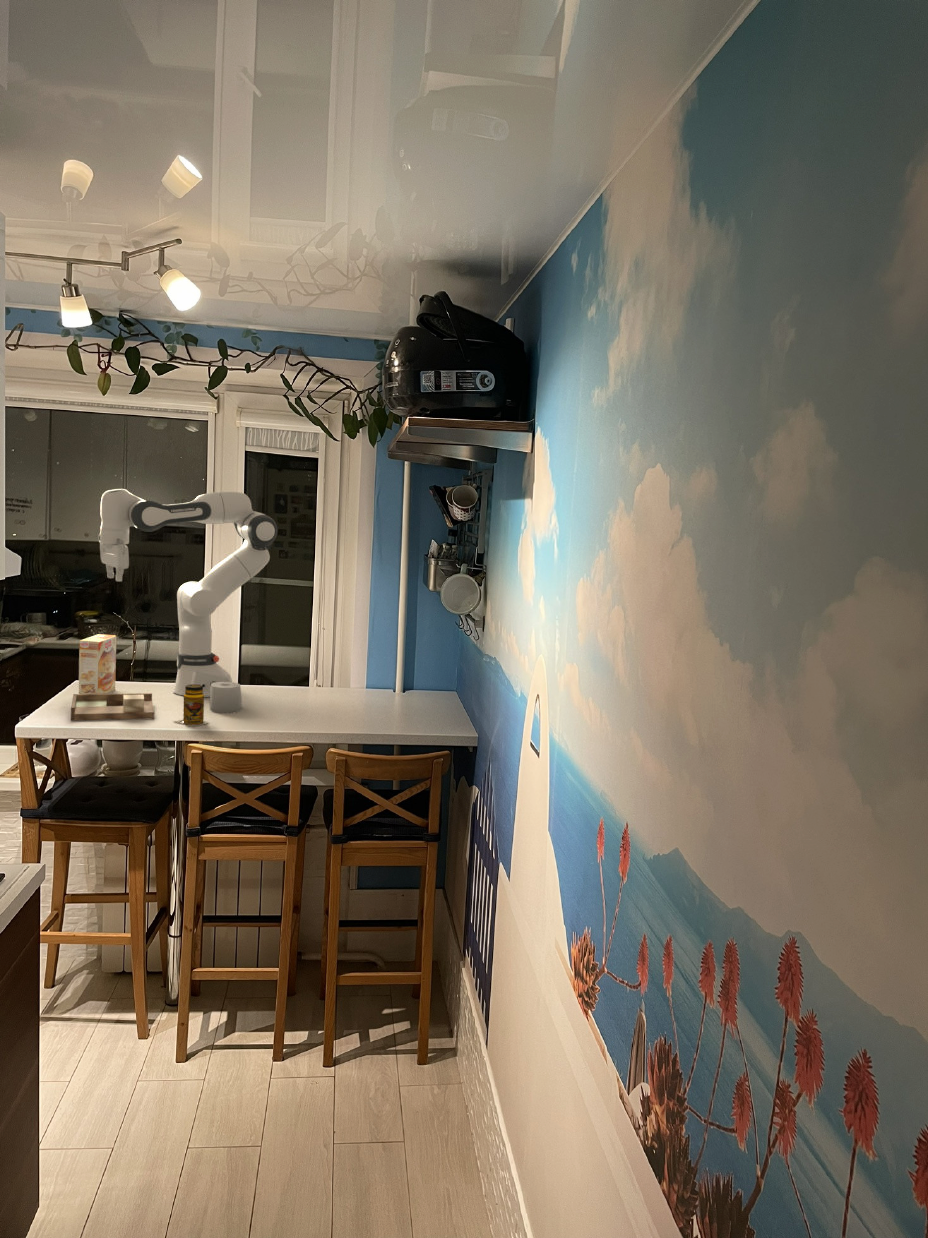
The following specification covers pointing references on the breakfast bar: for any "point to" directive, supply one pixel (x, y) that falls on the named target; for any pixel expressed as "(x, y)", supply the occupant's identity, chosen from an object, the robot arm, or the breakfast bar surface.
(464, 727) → the breakfast bar surface
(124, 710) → the block
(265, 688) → the breakfast bar surface
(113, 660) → the coffeecake box
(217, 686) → the toilet tissue
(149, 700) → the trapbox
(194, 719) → the condiment
